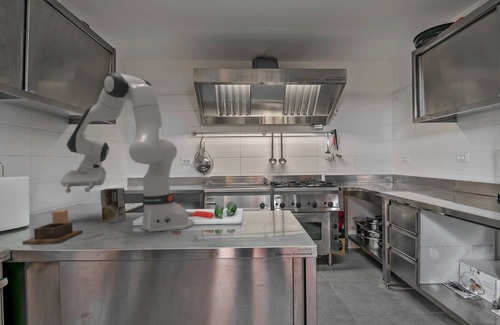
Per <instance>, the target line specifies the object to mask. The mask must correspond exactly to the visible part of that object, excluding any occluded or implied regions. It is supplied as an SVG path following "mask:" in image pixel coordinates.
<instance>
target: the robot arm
mask: <svg viewBox="0 0 500 325" xmlns="http://www.w3.org/2000/svg"><path fill="white" fill-rule="evenodd" d="M126 100H127V101H131V104H132V105H131V106H132V111H133V117H134V122H135V136H134V139H133V141H132V142H131V143H130V145H129V149H128V153H129V157H130V158H131V160H132V161H134V162H135V163H138V164H141V165H142V164H143V165H148V169H147V171H146V173H145V174H144V176H143V178H142V184H143V185H142V186H143V188H142V189H143V196H142V208H143V218H142V224H141V227H140V228H141V229H142V230H144V231H145V230H146V231H147V232H162V231H173V230H174V231H175V230H183V229H188V228H190V227H192V226H193V225H194V223H195V222H194V220H193V219H191V218H189V214H188V211H187V209H186V208H184V207H183V206H181V204H178V203H177V202H175V197H176V196H175V195H176V194H172V193H170V174H171V170H172V169H171V168H172V165H173V161H174V160H175V158H176V157H177V153H178V150H177V146H176V145H175V143H173V142H171V141H170V140H167V139H160V138H159V133H160V128H161V127H162V125H163V120H162V115H161V109H160V105H159V102H158V98H157V95H156V92H155V90H154V88H153V86H152V84H151V83H150V81H147V80H146V79H143V78H139V77H136V76H133V75H131V74H130V75H129V74H123V73H119V72H110V73H108V74H107V75H105V77H104V79H103V88H102V90H101V92H100V95H99V97H98V100H97V102H96V104H94V105H92V106H91V105H90V106H88V107H87V109H85V112H84V113H83V114H82V116H81V118H80V119H79V121H78V123H77V125H76V127H75V129H74V130H73V133H71V135H70V136H69V137H68V139H67V142H66V147H67V148H68V150H69V151H70V152H71V153H75V154H80V155H84V156H83V157H84V158H83V160H82V161H81V162H80V163H79V166H78V168H77V170H69V171H67V172H66V173H65V174H64V175H63V177H62V178H61V179H60V180H59V182H60V184H61V185H62V187H64V188H65V193H66V194H70V193H71V191H72V189H71V187H85V188H84V192H85V193H89V192H90V191H91V190H92V189H93V188H95V186H102V185H103V184H104V183H105V180H106V176H107V171H106V169H105V168H104V167H103V165H102V164H103V162H104V161H106V159H107V157H108V154H109V152H110V147H109V144H108V143H107V142H106V141H103V140H100V139H98V138H94V137H92V136H89V135H87V134H85V132H86V130H87V128H88V126H89V125H90V123H91V122H111V121H115V120H116V119H118V118H119V117H120V116H121V113H122V111H123V110H124V106H125V103H126ZM86 186H87V187H86Z"/></svg>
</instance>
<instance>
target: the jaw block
mask: <svg viewBox="0 0 500 325" xmlns="http://www.w3.org/2000/svg"><path fill="white" fill-rule="evenodd" d="M68 212H69V210H67V209H61V210H60V209H59V210H54V211H52V213H51V215H52V216H51V217H52V223H69V214H68Z"/></svg>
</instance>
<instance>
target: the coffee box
mask: <svg viewBox="0 0 500 325" xmlns="http://www.w3.org/2000/svg"><path fill="white" fill-rule="evenodd" d="M99 191H100V203H101V204H100V205H101V215H102V216H101V217H102V218H101V219H102V223H120V222H122V221H126V219H127V215H126V212H127V211H126V201H125V200H126V198H125V187H120V188H119V187H117V188H115V187H114V188H104V189H101V190H99Z"/></svg>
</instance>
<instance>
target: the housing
mask: <svg viewBox="0 0 500 325" xmlns="http://www.w3.org/2000/svg"><path fill="white" fill-rule="evenodd" d="M33 232H34V233H33V234H34V235H33V237H31V238H28V239H26V240H23V241H22V245H23V244H32V245H49V244H48V243H60V244H62V243H64V242H66V241H68V240H70V238H71V239H73V238H74V237H76V236H79V235H81V234H84V231H83V229H80V230H79V229H78V230H77V229H75V230H73V222H68V223H53V222H51V223H48V224H45V225H42V226H38V227H35V228H33ZM61 242H62V243H61Z"/></svg>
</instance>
